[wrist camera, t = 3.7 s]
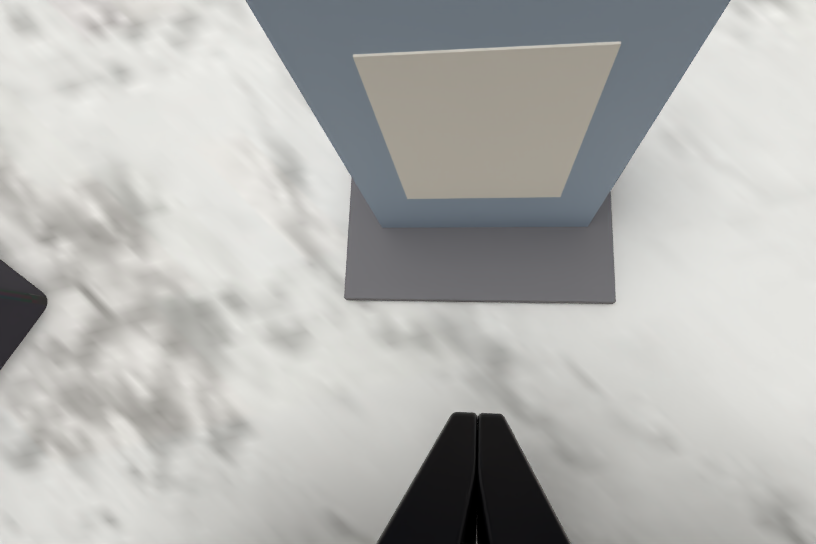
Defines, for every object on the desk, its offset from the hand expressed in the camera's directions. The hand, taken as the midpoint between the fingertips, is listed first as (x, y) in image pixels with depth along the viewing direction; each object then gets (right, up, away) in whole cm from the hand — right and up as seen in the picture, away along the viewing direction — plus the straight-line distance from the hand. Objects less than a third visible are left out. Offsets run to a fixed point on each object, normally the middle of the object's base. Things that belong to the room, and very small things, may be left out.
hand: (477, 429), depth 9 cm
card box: (+1, +6, +10) cm, 12 cm away
